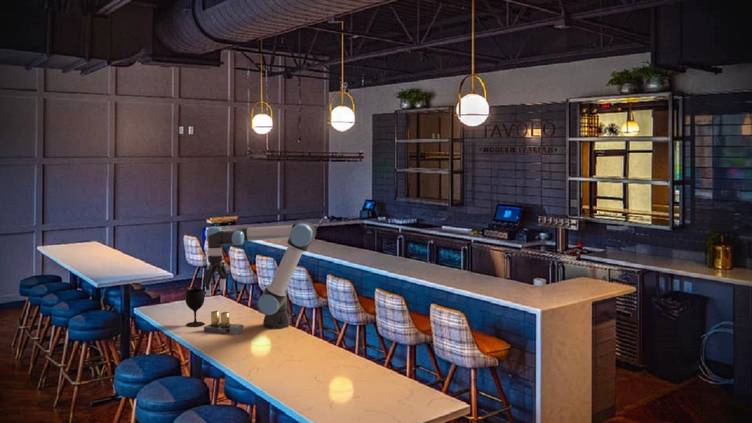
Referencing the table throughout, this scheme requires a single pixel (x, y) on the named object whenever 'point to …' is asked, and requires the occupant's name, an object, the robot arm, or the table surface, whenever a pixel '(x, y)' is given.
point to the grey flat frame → (217, 329)
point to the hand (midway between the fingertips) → (215, 292)
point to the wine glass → (194, 304)
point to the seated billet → (225, 320)
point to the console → (236, 329)
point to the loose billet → (215, 318)
